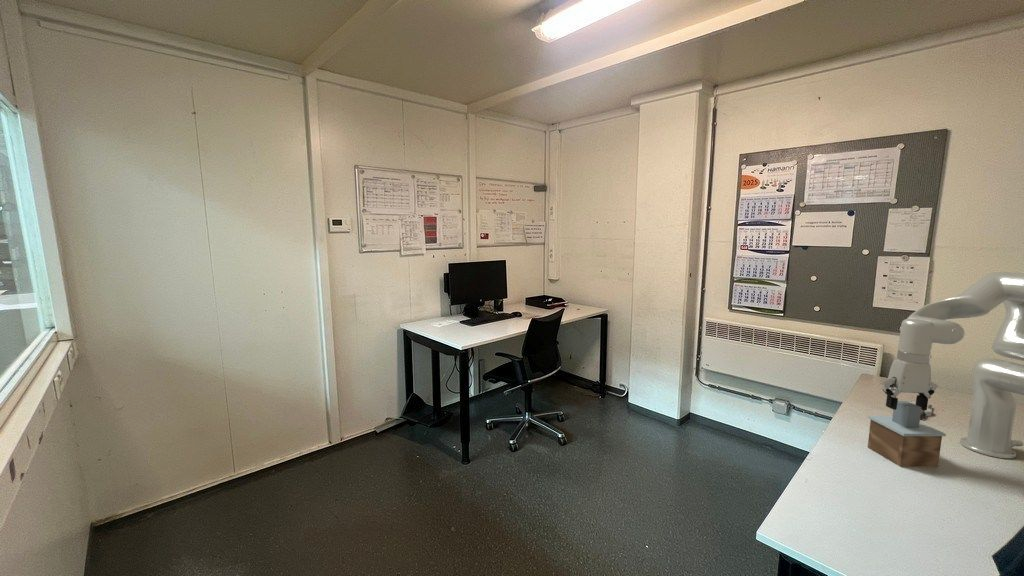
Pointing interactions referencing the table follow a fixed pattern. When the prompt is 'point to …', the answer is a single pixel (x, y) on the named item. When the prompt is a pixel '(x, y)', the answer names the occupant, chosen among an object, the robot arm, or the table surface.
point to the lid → (906, 421)
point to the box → (904, 447)
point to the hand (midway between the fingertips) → (905, 408)
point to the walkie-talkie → (924, 411)
